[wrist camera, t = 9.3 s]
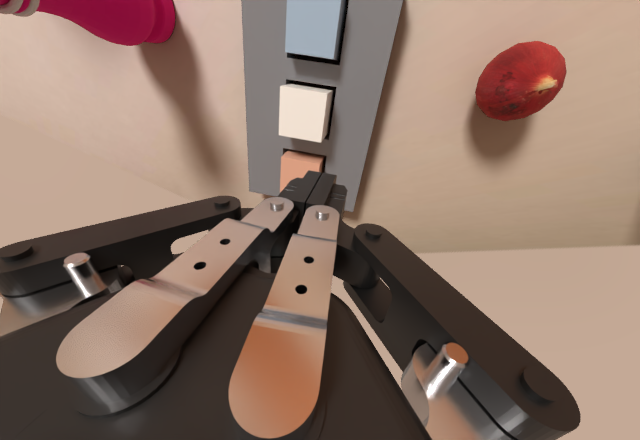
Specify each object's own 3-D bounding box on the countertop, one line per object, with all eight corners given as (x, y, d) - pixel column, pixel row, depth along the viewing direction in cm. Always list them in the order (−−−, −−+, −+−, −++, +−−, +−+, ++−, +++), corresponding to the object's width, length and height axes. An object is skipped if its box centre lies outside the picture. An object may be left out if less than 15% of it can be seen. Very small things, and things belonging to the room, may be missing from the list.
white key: (333, 90, 25) (327, 93, 21) (327, 133, 27) (321, 142, 24) (292, 83, 25) (280, 85, 22) (289, 127, 28) (278, 135, 24)
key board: (405, -15, 21) (409, -26, 19) (354, 201, 33) (353, 212, 31) (254, -33, 22) (239, -46, 20) (258, 182, 34) (249, 191, 32)
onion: (488, 125, 26) (528, 145, 19) (452, 87, 25) (481, 95, 18) (547, 75, 23) (619, 78, 16) (509, 29, 22) (570, 12, 15)
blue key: (346, 3, 22) (342, -9, 19) (338, 60, 24) (333, 59, 21) (300, -3, 22) (287, -16, 19) (296, 54, 25) (285, 51, 21)
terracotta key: (325, 153, 30) (319, 164, 26) (321, 185, 32) (315, 199, 29) (291, 147, 30) (281, 156, 27) (289, 179, 32) (279, 192, 29)
